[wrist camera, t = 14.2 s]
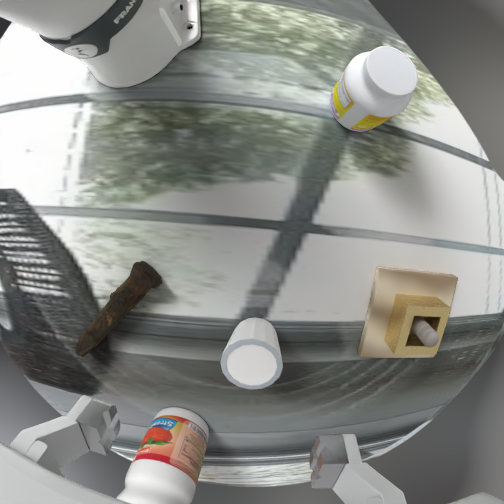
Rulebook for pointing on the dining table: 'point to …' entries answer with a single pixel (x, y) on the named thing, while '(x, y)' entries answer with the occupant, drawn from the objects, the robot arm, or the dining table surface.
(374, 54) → the supplement bottle
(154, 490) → the fruit juice
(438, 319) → the tan square frame block
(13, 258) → the dining table surface
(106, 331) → the hand tool
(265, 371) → the shot glass
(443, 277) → the post stand
